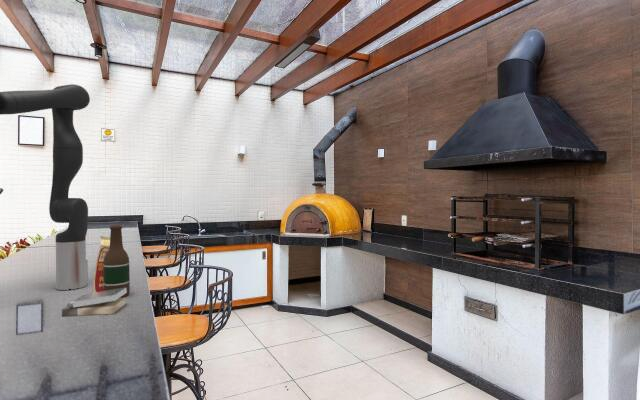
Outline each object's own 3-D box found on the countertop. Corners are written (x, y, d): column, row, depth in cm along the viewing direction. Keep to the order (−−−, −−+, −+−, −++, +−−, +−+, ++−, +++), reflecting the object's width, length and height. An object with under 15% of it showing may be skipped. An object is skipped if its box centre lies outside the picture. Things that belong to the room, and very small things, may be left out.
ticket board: (61, 316, 102) (61, 309, 102) (77, 306, 111) (77, 300, 111) (113, 313, 104) (113, 306, 104) (125, 304, 113) (125, 297, 113)
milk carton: (93, 296, 123) (92, 237, 123) (95, 290, 131) (94, 234, 131) (123, 292, 127) (123, 235, 127) (124, 286, 135) (123, 233, 135)
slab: (66, 302, 102) (114, 295, 104) (82, 294, 111) (126, 287, 113) (67, 308, 102) (115, 300, 104) (83, 299, 111) (126, 292, 113)
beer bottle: (134, 294, 124) (134, 224, 124) (113, 300, 117) (112, 226, 117) (119, 292, 128) (118, 224, 128) (98, 297, 121) (97, 225, 120)
